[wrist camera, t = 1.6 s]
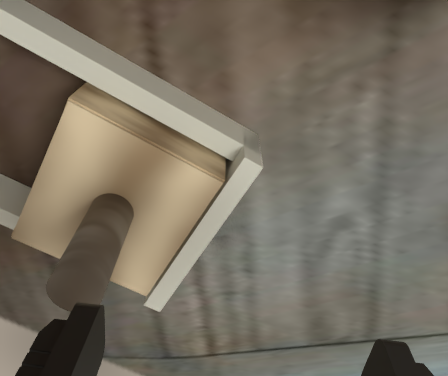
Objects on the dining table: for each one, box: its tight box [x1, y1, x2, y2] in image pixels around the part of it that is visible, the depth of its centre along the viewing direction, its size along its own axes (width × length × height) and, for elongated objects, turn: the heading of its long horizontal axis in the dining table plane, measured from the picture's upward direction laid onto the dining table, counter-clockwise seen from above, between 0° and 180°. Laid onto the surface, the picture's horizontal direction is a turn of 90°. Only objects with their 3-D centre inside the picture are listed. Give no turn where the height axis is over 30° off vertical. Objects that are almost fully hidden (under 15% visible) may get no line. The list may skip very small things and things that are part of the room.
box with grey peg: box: [11, 82, 226, 311], centre depth 29 cm, size 11×12×15 cm
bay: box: [0, 0, 263, 312], centre depth 31 cm, size 24×16×6 cm, turn 59°
